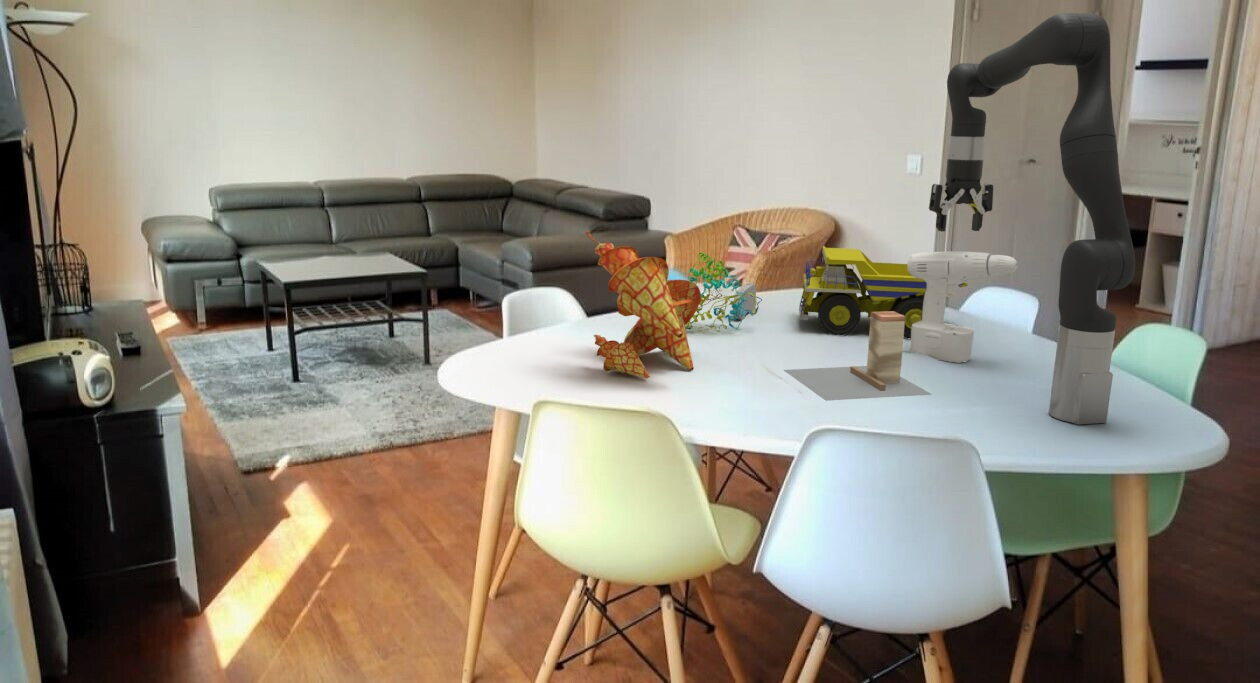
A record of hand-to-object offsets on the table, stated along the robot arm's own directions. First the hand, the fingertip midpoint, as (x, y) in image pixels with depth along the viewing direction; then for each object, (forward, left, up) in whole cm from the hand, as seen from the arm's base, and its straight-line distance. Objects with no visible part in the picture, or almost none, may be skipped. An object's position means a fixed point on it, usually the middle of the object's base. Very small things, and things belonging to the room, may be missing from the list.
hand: (958, 230), depth 210 cm
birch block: (-19, +26, -28) cm, 43 cm away
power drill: (-2, 0, -29) cm, 29 cm away
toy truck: (+30, +3, -30) cm, 42 cm away
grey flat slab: (+51, +32, -30) cm, 67 cm away
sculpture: (+5, +70, -30) cm, 76 cm away
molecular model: (+36, +46, -30) cm, 65 cm away
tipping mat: (-19, +32, -29) cm, 47 cm away
